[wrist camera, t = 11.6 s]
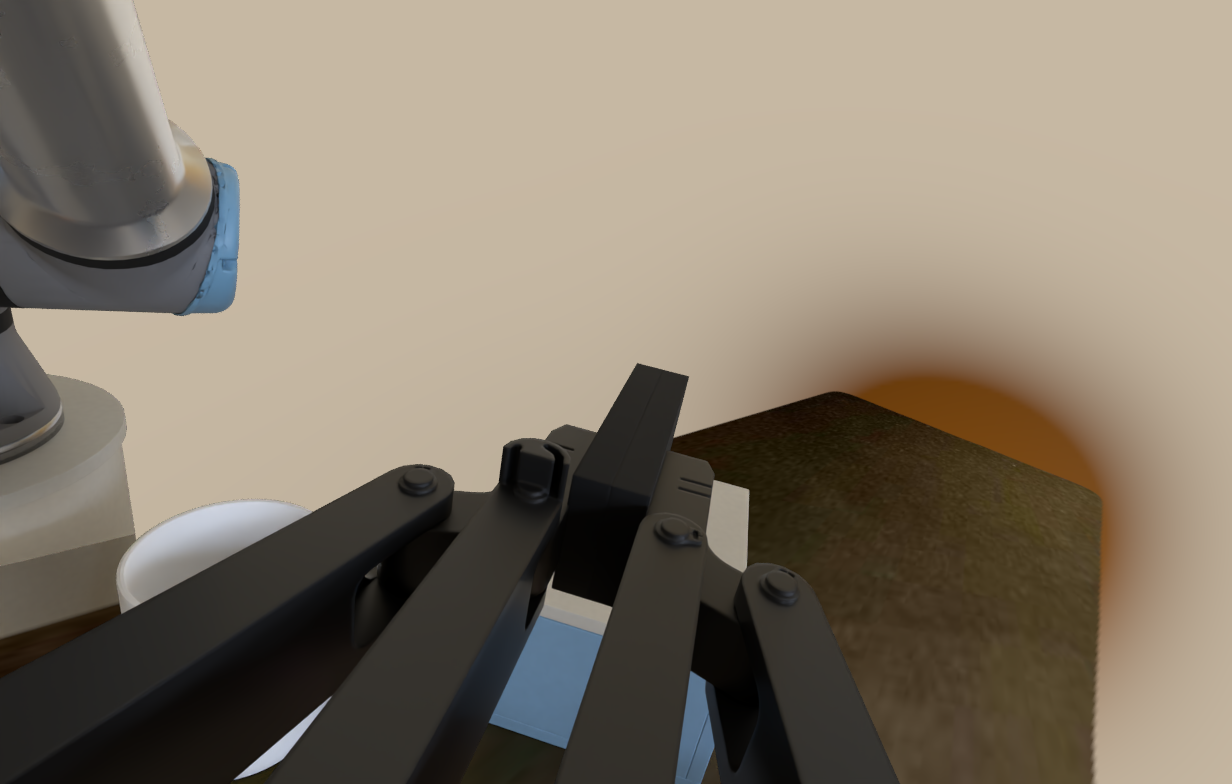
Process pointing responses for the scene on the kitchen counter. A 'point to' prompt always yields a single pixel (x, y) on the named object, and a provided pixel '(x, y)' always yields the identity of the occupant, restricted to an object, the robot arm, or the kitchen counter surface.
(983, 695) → the kitchen counter surface
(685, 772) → the case
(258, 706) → the robot arm
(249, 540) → the cup
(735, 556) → the case lid
